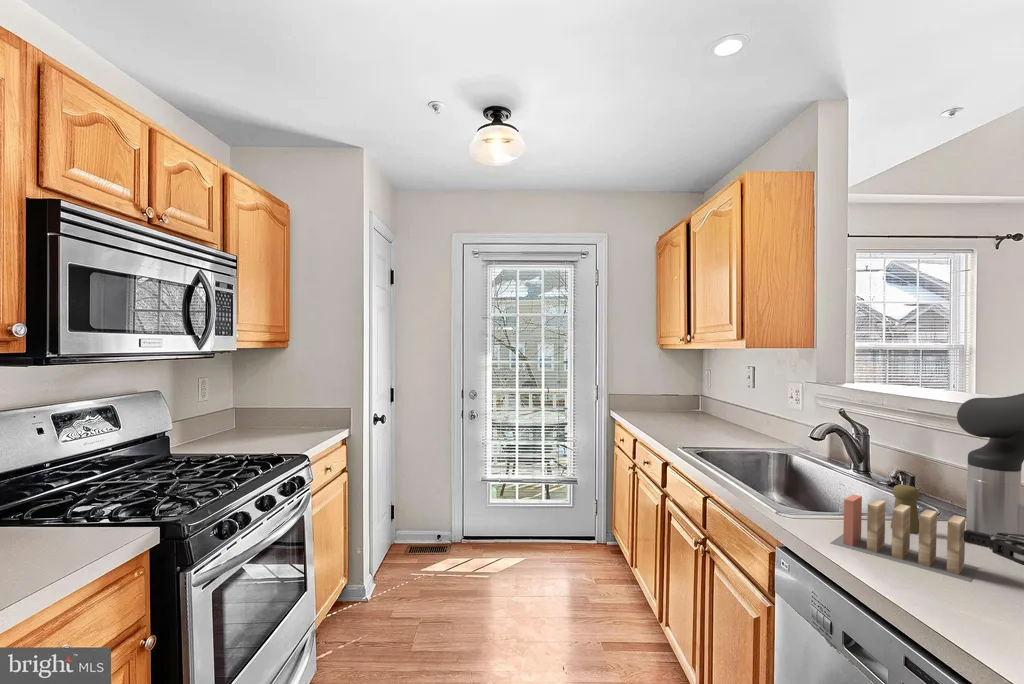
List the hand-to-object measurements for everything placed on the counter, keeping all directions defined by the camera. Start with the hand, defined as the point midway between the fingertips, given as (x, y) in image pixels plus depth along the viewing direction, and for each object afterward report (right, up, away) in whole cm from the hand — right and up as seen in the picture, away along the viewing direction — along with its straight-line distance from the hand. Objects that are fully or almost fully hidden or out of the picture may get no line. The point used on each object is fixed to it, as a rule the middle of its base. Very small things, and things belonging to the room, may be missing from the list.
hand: (964, 535), depth 103 cm
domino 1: (-13, -7, +15) cm, 20 cm away
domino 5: (-1, -7, +1) cm, 7 cm away
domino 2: (-10, -7, +11) cm, 16 cm away
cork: (+6, -8, +23) cm, 25 cm away
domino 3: (-7, -7, +8) cm, 12 cm away
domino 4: (-4, -7, +4) cm, 9 cm away
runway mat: (-7, -7, +8) cm, 13 cm away
